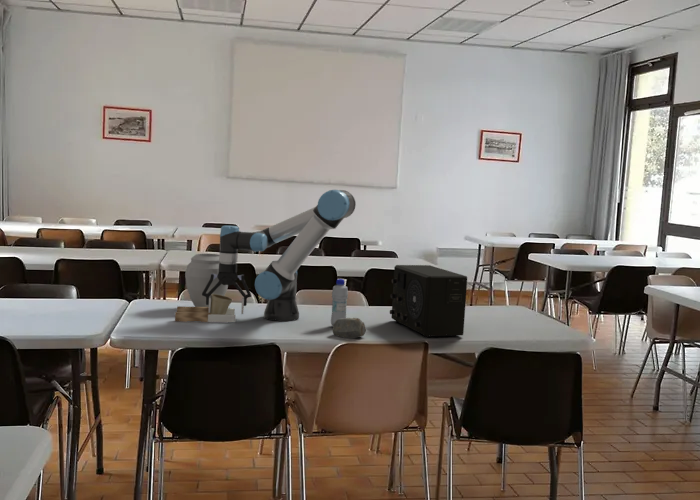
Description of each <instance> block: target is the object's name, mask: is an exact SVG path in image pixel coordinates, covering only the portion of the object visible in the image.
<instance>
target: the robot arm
mask: <svg viewBox="0 0 700 500" xmlns="http://www.w3.org/2000/svg"><path fill="white" fill-rule="evenodd" d="M356 206H357V205H356V199H355V197H354V196H353V194H352V193H350V191H347V190H343V189H330V190H328V191H326V192H324V193H322V195H320V197H319V198H318V201H317V204H316V206H314V207H312V208H310V209H307V210H305V211H303V212H300V213H299V214H296V215H294V216H292V217H289V218H287V219H285V220H283V221H279V222H278V223H276V224H274V225H271V226H269V227H267V228H264V229H262V230H258V231H253V232H252V231H251V232H249V231H240V228H239V226H237V225H222V226H221V227H220V232H219V233H220V234H219V253H218V255H219V262H220V263H219V273H218V275H216V274H213V273H212V274H211V278H210V280H209V282H208V284H207V285H206V287H205V289H204V291H203V292H202V296H205V297H206V305H209V310H208V313H210V307H211V297H209V296H210V295H211V294H212V293H213V292H214V291H215V290H216V289H217V288H218V287H219V286H220V285H221V284H222V285H228V286H232V285H233V286H234V287H235V288H236V289H237V292H239V294H240V295H241V296H242V297H241V309H240V310H241V311H240V312H241V315H244V312H245V311H244V309H245V308H244V307H246V306H247V303H248V302H247V301H248V298H251V297H252V294H251V291H250V290H249V287H248V285H247V282H246V280H245V274H239V275H238V273H237V272H238V264H237V263H238V253H239V250H241V251H251V252H256V253H257V252H264V251H265V250H266V249H268V248H271V247H272V246H273V245H275V244H277V243H279V242H282V241H284V240H287V239H289V238H292V237H294V236H296V235H297V236H296V237H295V238H294V240H293V241H291V243H290V245H289V246H288V247H287V249H286V250H284V252H283V253H282V254H281V255H280V257H279V258H278V259H277V260H273V261H271V262H270V263H269V265H268V266H267V267H266V268H265V270H264V271H262V272H260V273H258V275H257V276H256V278H255V280H254V288H255V291H256V294H258V296H259V297H261V298H262V299H265V300H268V301H267V303H266V306H265V309H264V311H263V318H264V319H267V320H270V321H276V322H277V321H281V322H289V321H297V320H299V319H300V311H299V308H298V304H297V285H298V283H297V282H298V281H297V280H298V270H299V268H300V267H301V266H302V264H303V263H304V262H305V261H306V259H307V258H308V257H309V256H310V254H311V253H312V252H313V251H314V250H315V248H316V247H317V246H318V245H319V243H320V242H321V241H322V240H323V239H324V237H326V235H327V234H328V232H329V231H330V230H336V229H337V228H338V226H339V225H340V223H342V221H343V220H344V219H345V218H349V217H350V216H352V214H353V213H354V212H355V209H356ZM216 277H217V278H218V279H219V282H218V283H217V284H216V285H215V286H214V287H213V288H212V289H211V290H210V291H209V292H208V293H206V292H207V290H208V288H209V287H210V285H211V283H212V281H213V279H215V278H216ZM237 279H239V281H241V283H242V286H243V288H244V289H245V291H243V289H242V288H241V287H240V285H239V284H238V282H236V281H237ZM245 292H246V293H247V294H246V293H245Z"/></svg>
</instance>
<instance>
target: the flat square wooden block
mask: <svg viewBox="0 0 700 500" xmlns="http://www.w3.org/2000/svg"><path fill="white" fill-rule="evenodd" d="M208 310H209V307H195V306H180V305H179V306H178V305H177V307H176V311H175V315H174V317H175V318H174V321H175V322H187V321H201V322H202V323H204V322H205V323H209V322H208V315H211V313H208ZM201 322H200V323H201Z"/></svg>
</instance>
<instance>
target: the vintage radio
mask: <svg viewBox="0 0 700 500" xmlns="http://www.w3.org/2000/svg"><path fill="white" fill-rule="evenodd" d="M391 284H393V287H392V288H393V289H392V293H391V294H390V299H392V301H391V302H392V303H391V309H390V310H389V314H390V316H391V319H392V320H394V321H395V323H398V324H399V323H400V324H401V325H404V326H405V327H407V328H409V329H411V330H413V331H415V332H417V333H419V334H422V335H423V338H426V339H427V338H428V339H429V338H431V337H449V336H450V337H453V338H455V337H456V336H457V337H458V336H459V337H460V336H464V332H465V331H464V328H465V315H466V314H465V313H466V300H467V287H468V276H467V275H463V274H460V273H457V272H453V271H450V270H447V269H443V268H440V267H436V266H433V265H429V264H425V265H424V264H423V265H421V264H396V265H395V266H394V269H393V278H391ZM457 337H456V338H457Z"/></svg>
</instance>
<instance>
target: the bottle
mask: <svg viewBox="0 0 700 500" xmlns="http://www.w3.org/2000/svg"><path fill="white" fill-rule="evenodd" d="M335 283H336V284H335V285H334V286H333V287H332V292H331V299H332V302H331V303H332V304H331V305H332V306H331V316H330V323H331V326H332V328H333V325H334V323H335V321H336V320H337V319H342V318H347V305H348V303H347V302H348V298H349V297H348V296H349V290H348V286H346V285H345V280H344V279H342V278H337V279H336V282H335Z"/></svg>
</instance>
